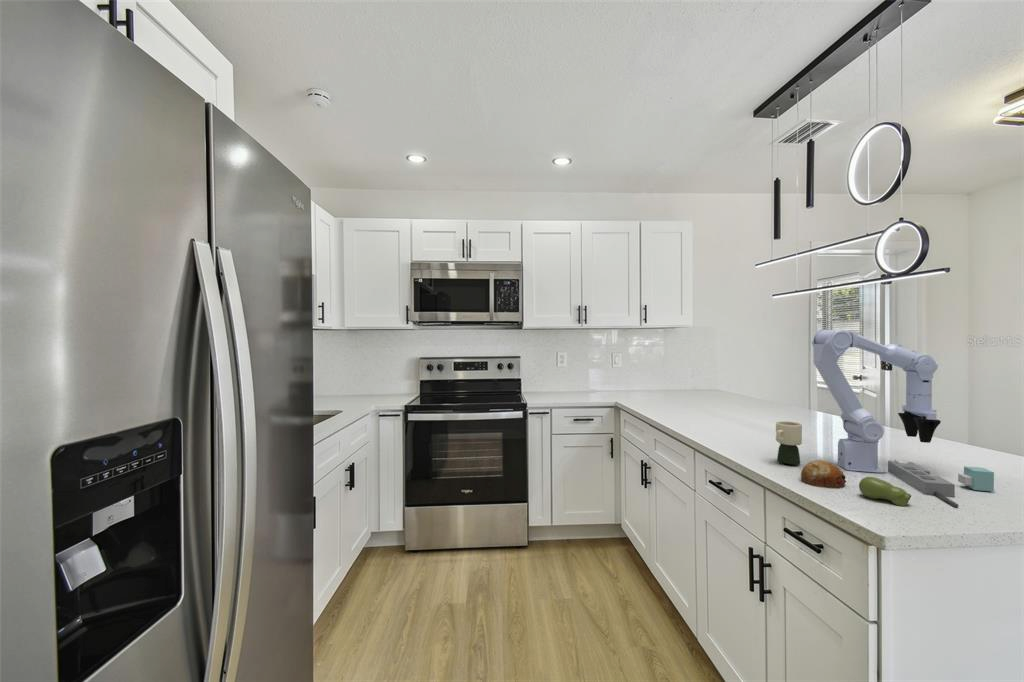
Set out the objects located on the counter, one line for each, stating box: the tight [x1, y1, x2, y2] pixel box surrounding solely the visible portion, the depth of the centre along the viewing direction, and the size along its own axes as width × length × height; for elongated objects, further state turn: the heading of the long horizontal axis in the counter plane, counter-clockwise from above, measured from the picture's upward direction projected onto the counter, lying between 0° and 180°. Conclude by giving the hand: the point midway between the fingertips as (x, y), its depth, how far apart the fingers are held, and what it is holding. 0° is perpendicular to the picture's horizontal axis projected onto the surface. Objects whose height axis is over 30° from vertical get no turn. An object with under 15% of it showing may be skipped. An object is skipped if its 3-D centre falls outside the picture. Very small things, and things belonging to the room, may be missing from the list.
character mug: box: [775, 420, 803, 466], centre depth 141 cm, size 11×7×13 cm, turn 115°
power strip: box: [887, 459, 959, 508], centre depth 119 cm, size 6×28×4 cm, turn 161°
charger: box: [957, 465, 995, 492], centre depth 118 cm, size 6×4×5 cm
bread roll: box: [800, 459, 847, 489], centre depth 124 cm, size 10×10×8 cm
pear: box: [858, 476, 912, 507], centre depth 111 cm, size 6×5×10 cm
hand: (918, 439), depth 134 cm, fingers open, 7 cm apart
